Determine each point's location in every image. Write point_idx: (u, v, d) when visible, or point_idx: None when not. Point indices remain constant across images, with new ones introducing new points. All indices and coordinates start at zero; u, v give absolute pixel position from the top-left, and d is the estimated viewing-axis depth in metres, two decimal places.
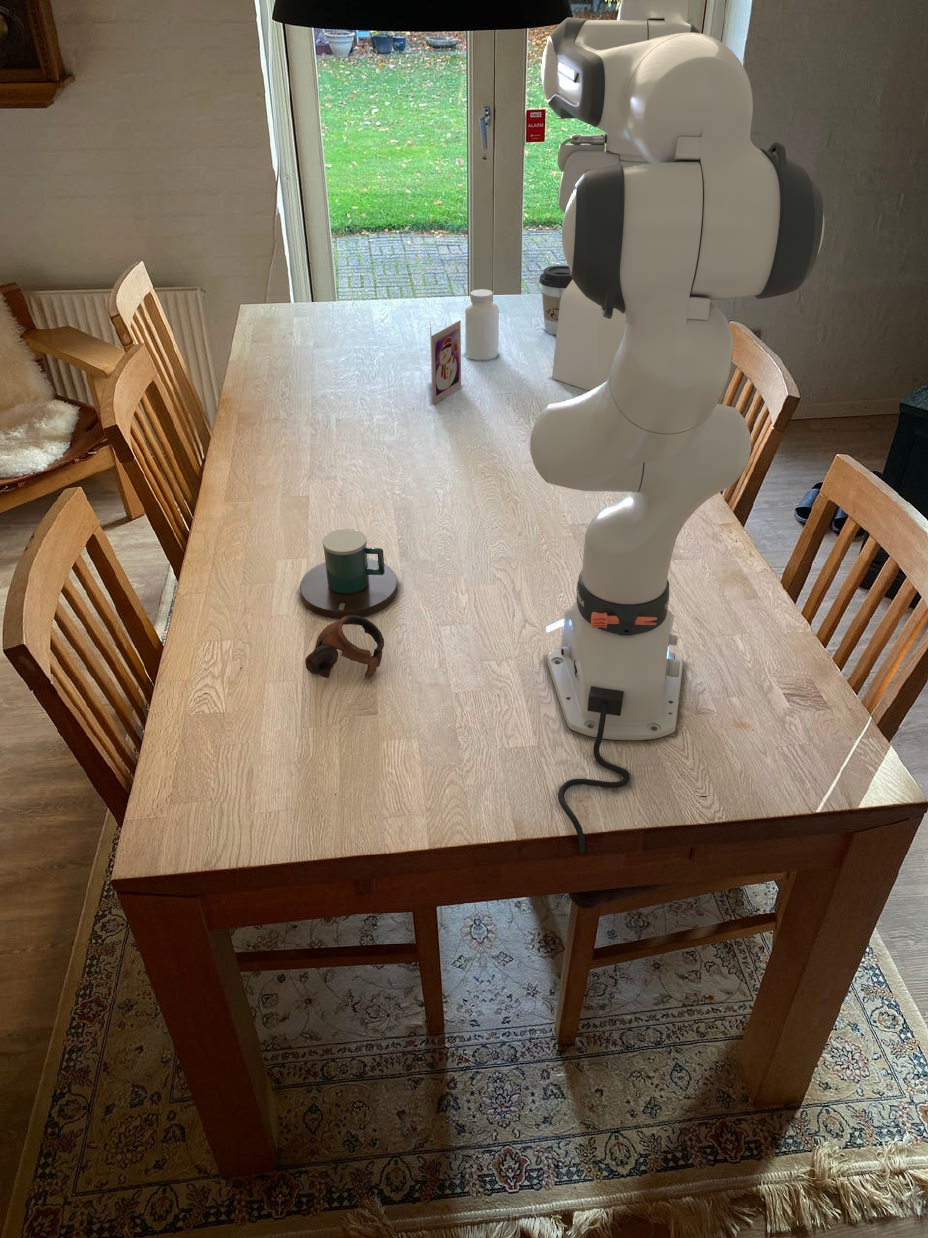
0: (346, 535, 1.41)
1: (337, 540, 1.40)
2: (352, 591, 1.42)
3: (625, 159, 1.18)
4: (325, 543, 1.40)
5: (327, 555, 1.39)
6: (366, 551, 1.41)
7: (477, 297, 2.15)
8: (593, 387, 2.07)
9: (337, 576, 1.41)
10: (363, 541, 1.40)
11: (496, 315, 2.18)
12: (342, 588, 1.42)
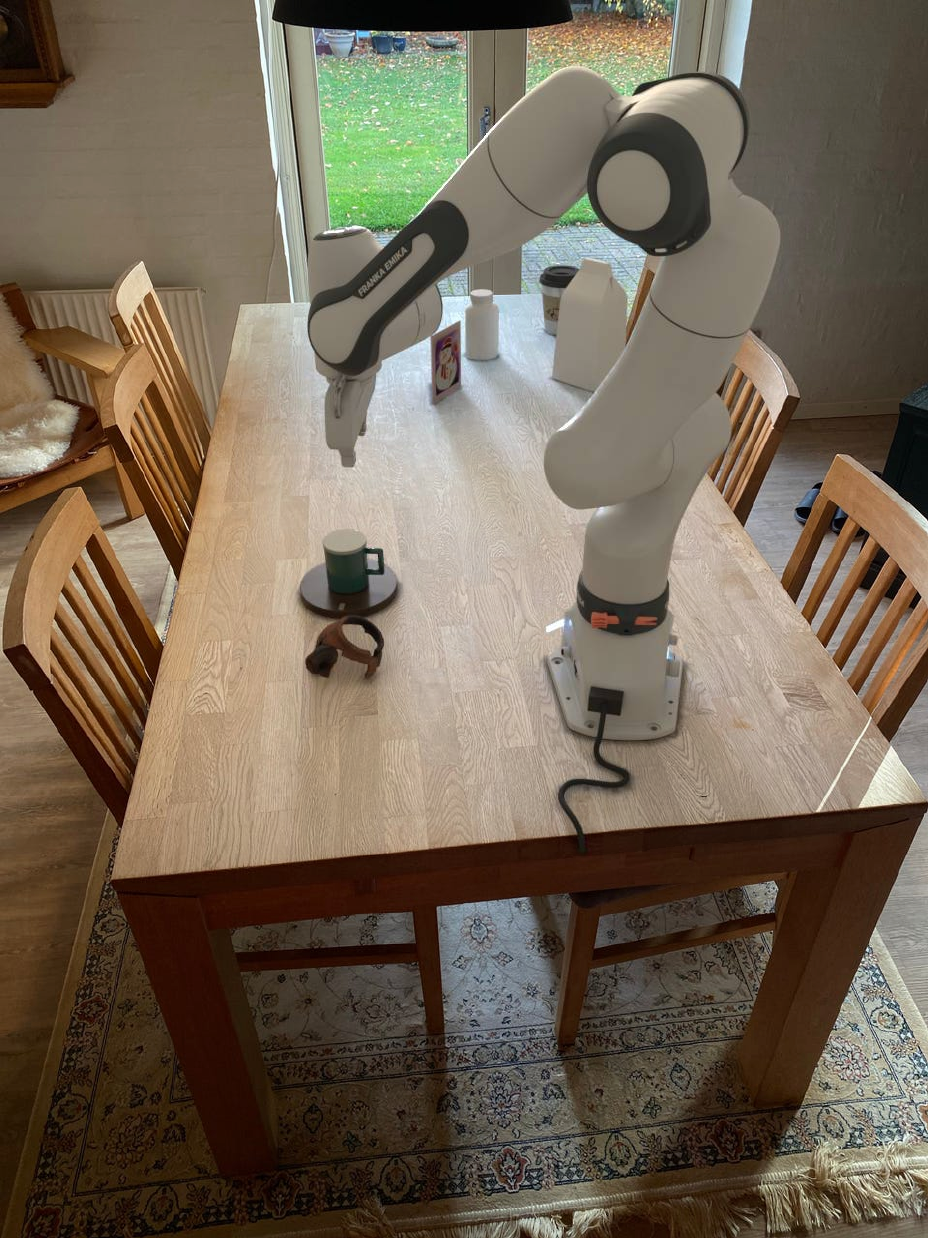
0: (346, 535, 1.41)
1: (337, 540, 1.40)
2: (352, 591, 1.42)
3: (365, 379, 1.24)
4: (325, 543, 1.40)
5: (327, 555, 1.39)
6: (366, 551, 1.41)
7: (477, 297, 2.15)
8: (593, 387, 2.07)
9: (337, 576, 1.41)
10: (363, 541, 1.40)
11: (496, 315, 2.18)
12: (342, 588, 1.42)
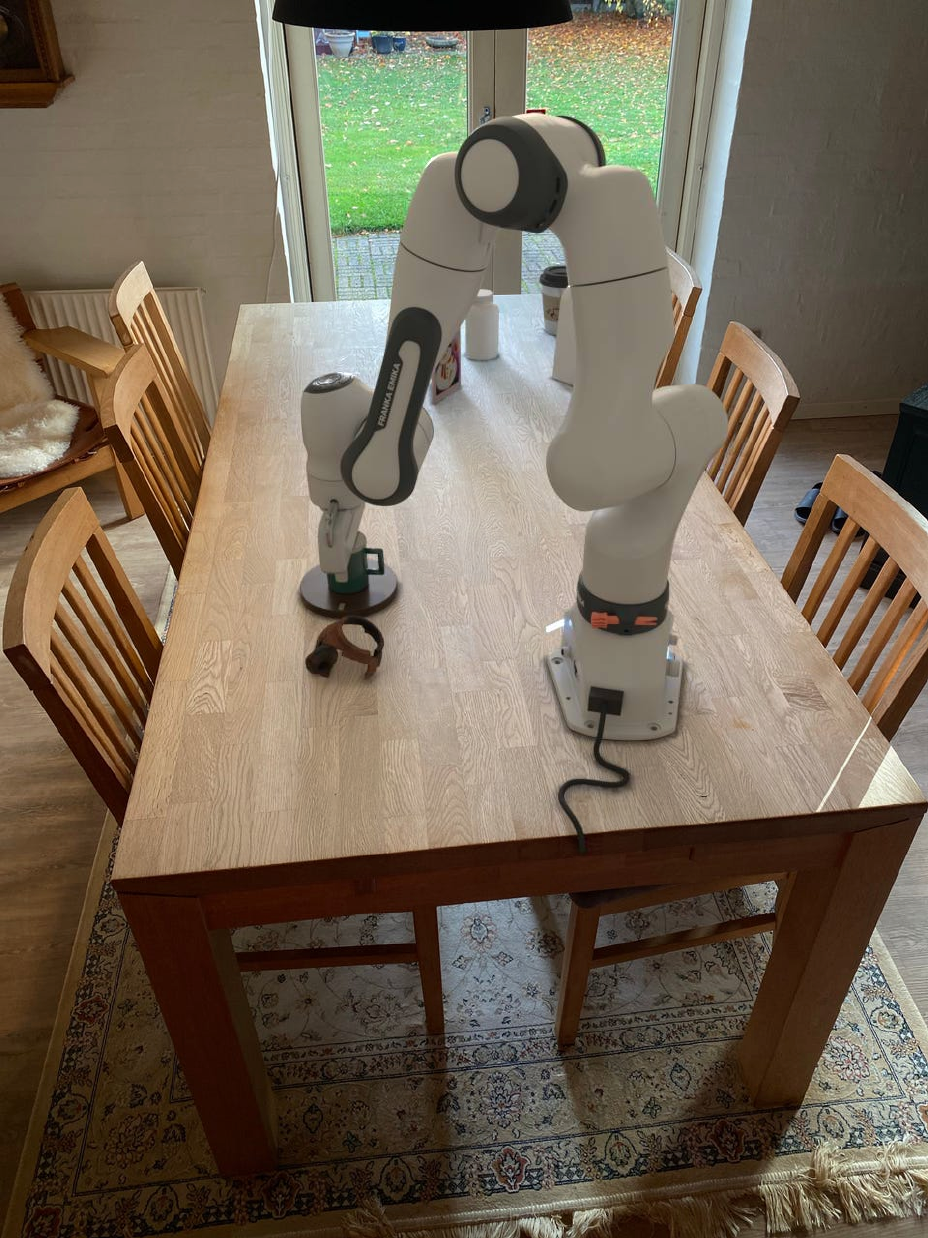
0: None
1: None
2: (352, 591, 1.42)
3: (355, 506, 1.35)
4: None
5: None
6: (366, 551, 1.41)
7: (477, 297, 2.15)
8: None
9: None
10: (363, 541, 1.40)
11: (496, 315, 2.18)
12: (342, 588, 1.42)
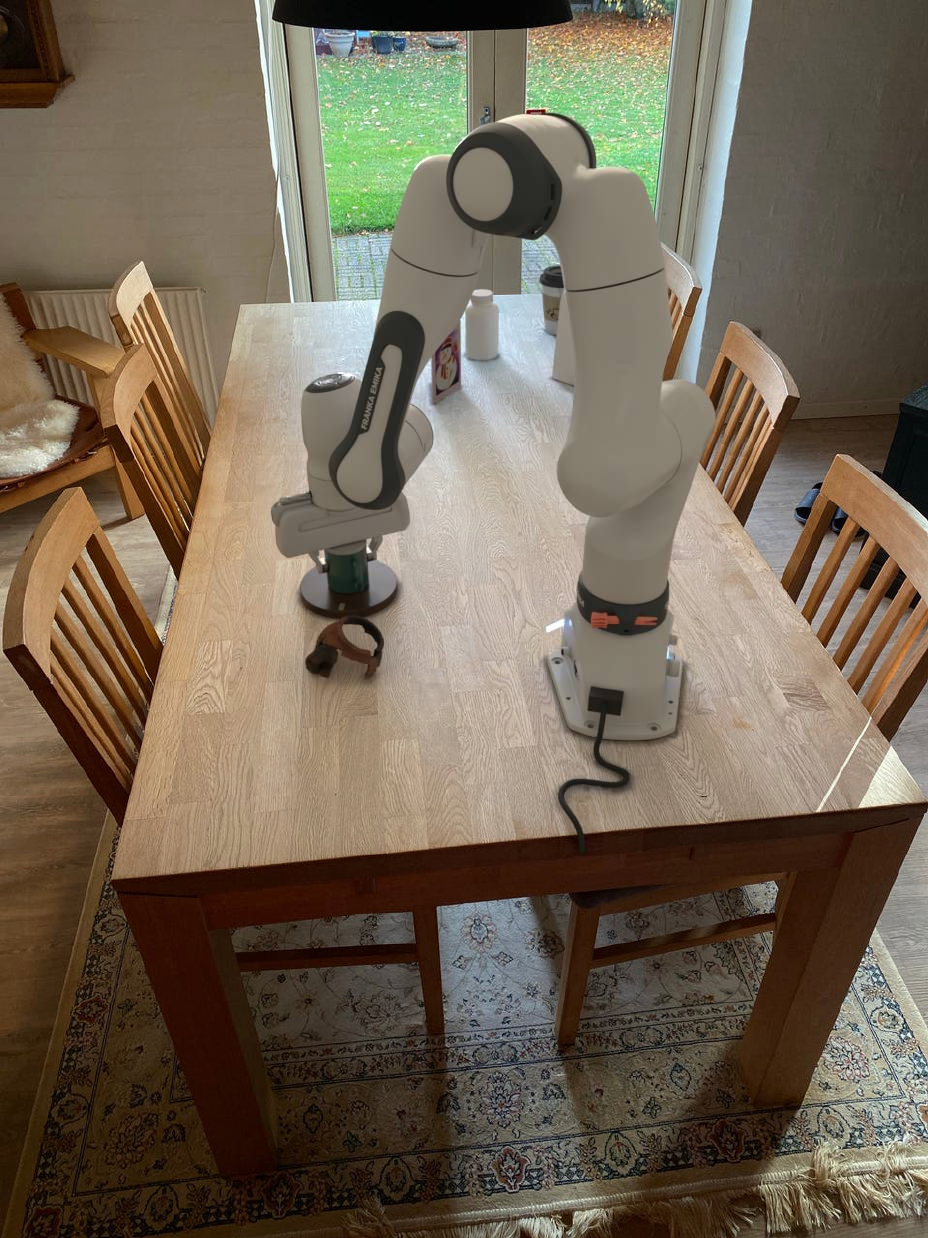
0: None
1: None
2: (332, 588, 1.43)
3: (333, 510, 1.34)
4: None
5: None
6: (350, 560, 1.39)
7: (477, 297, 2.15)
8: None
9: None
10: (350, 549, 1.38)
11: (496, 315, 2.18)
12: None
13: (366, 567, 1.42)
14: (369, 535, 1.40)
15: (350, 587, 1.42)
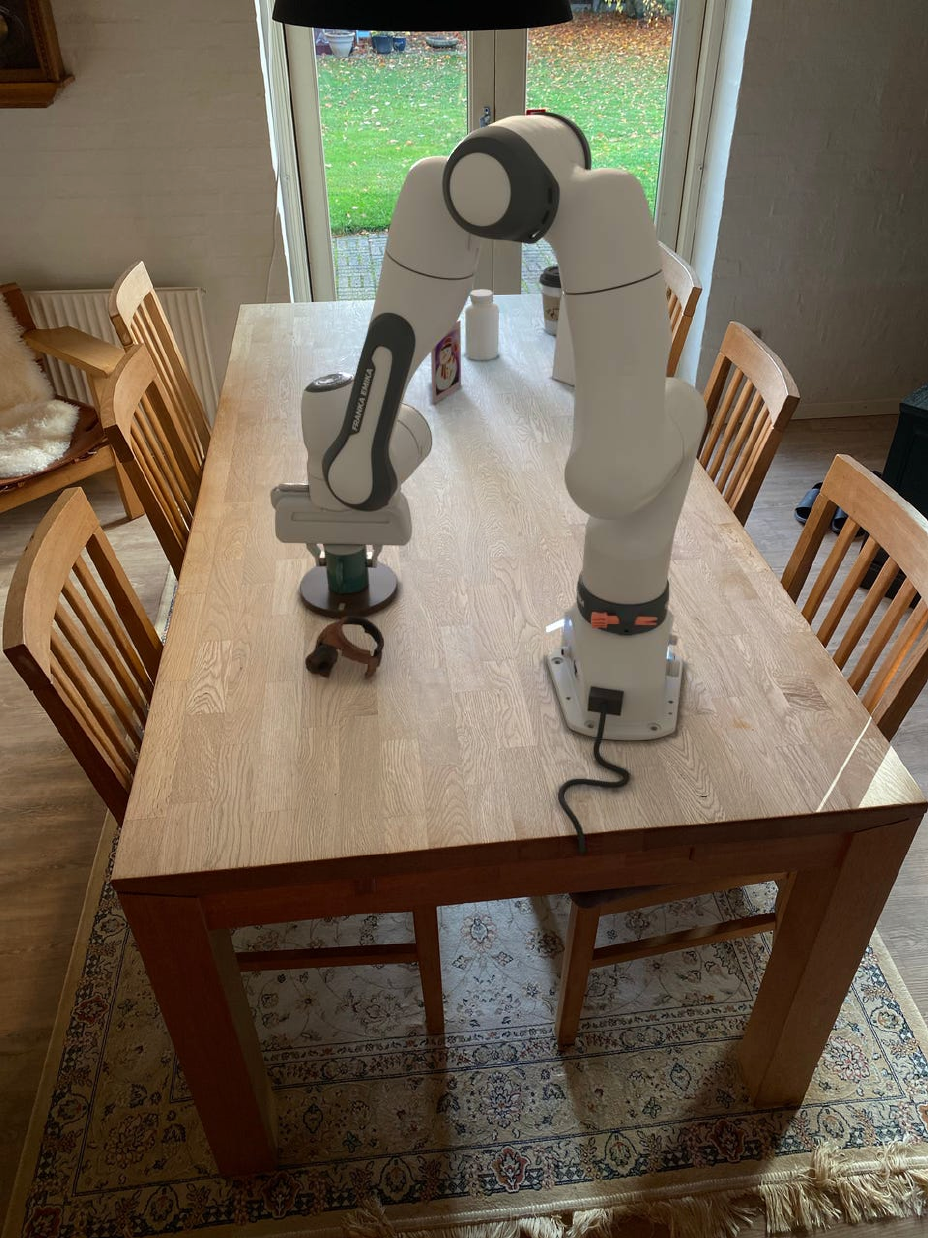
0: None
1: None
2: None
3: (324, 507, 1.35)
4: None
5: None
6: (338, 560, 1.39)
7: (477, 297, 2.15)
8: None
9: None
10: (339, 550, 1.38)
11: (496, 315, 2.18)
12: None
13: (359, 572, 1.41)
14: (364, 541, 1.38)
15: None
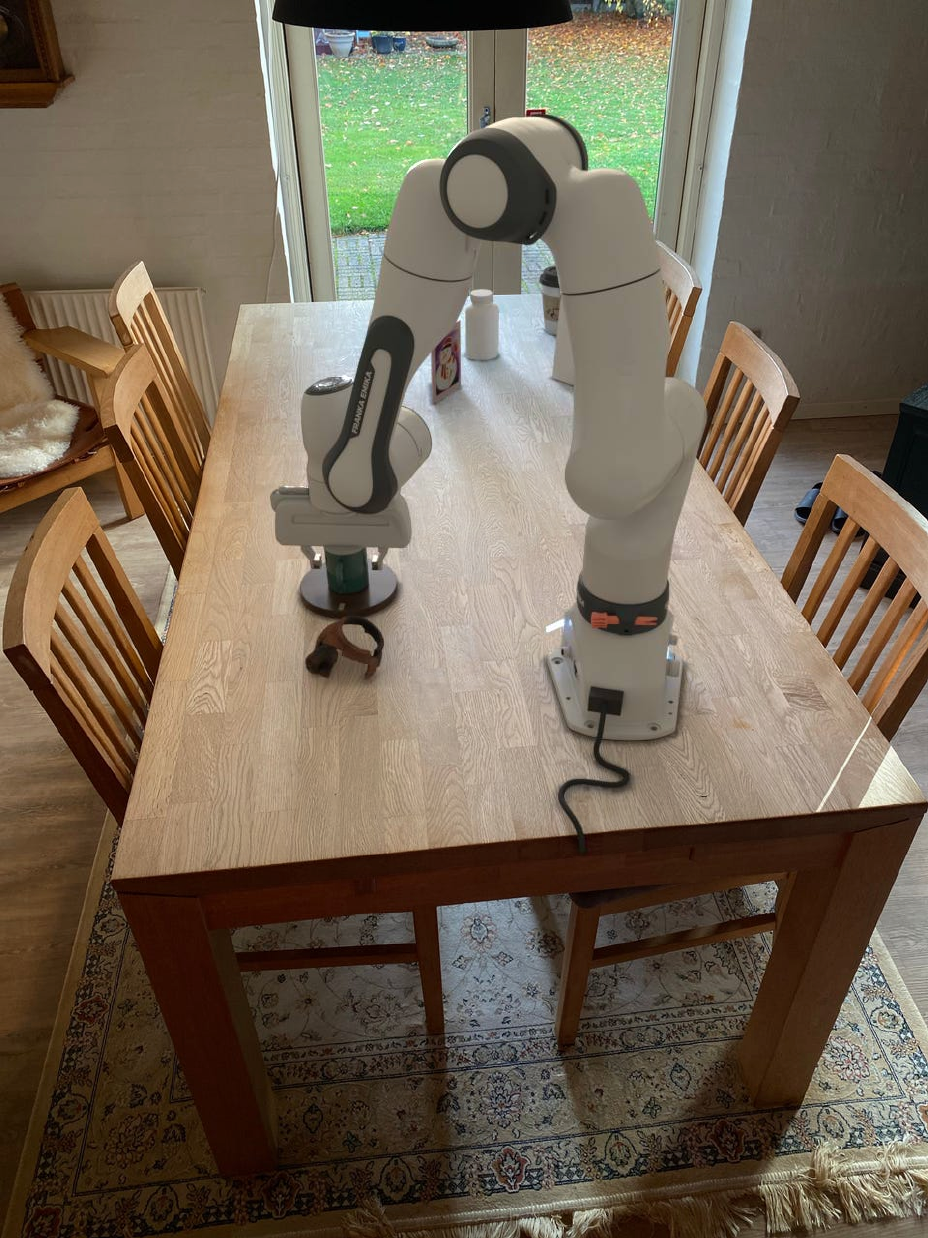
0: None
1: None
2: None
3: (324, 510, 1.35)
4: None
5: None
6: (338, 560, 1.39)
7: (477, 297, 2.15)
8: None
9: None
10: (339, 550, 1.38)
11: (496, 315, 2.18)
12: None
13: (359, 572, 1.41)
14: (364, 544, 1.38)
15: None
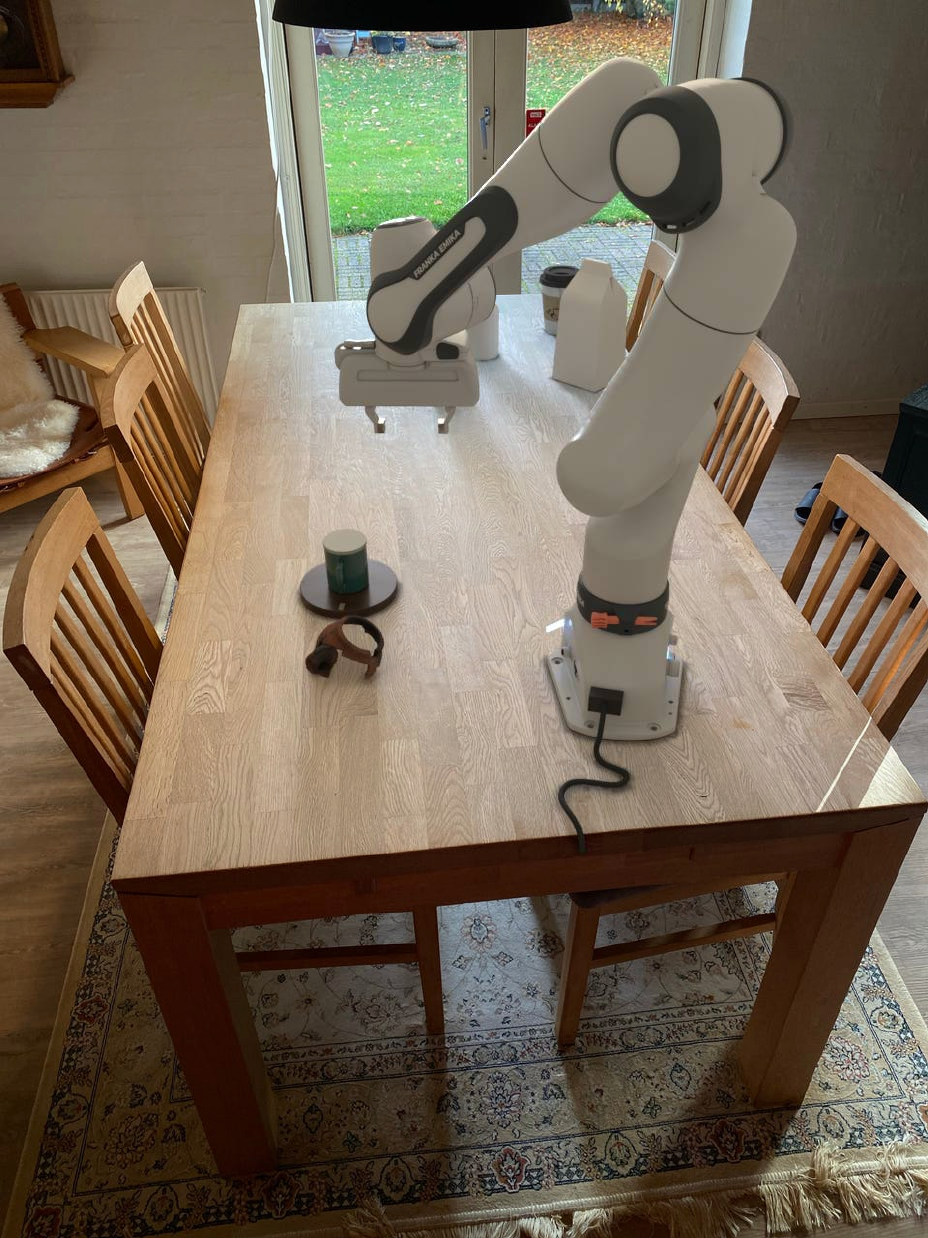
0: (353, 540, 1.40)
1: (344, 536, 1.41)
2: None
3: (392, 363, 1.30)
4: (340, 530, 1.43)
5: None
6: (338, 560, 1.39)
7: None
8: (593, 387, 2.07)
9: None
10: (339, 550, 1.38)
11: (496, 315, 2.18)
12: None
13: (359, 572, 1.41)
14: (432, 402, 1.34)
15: None
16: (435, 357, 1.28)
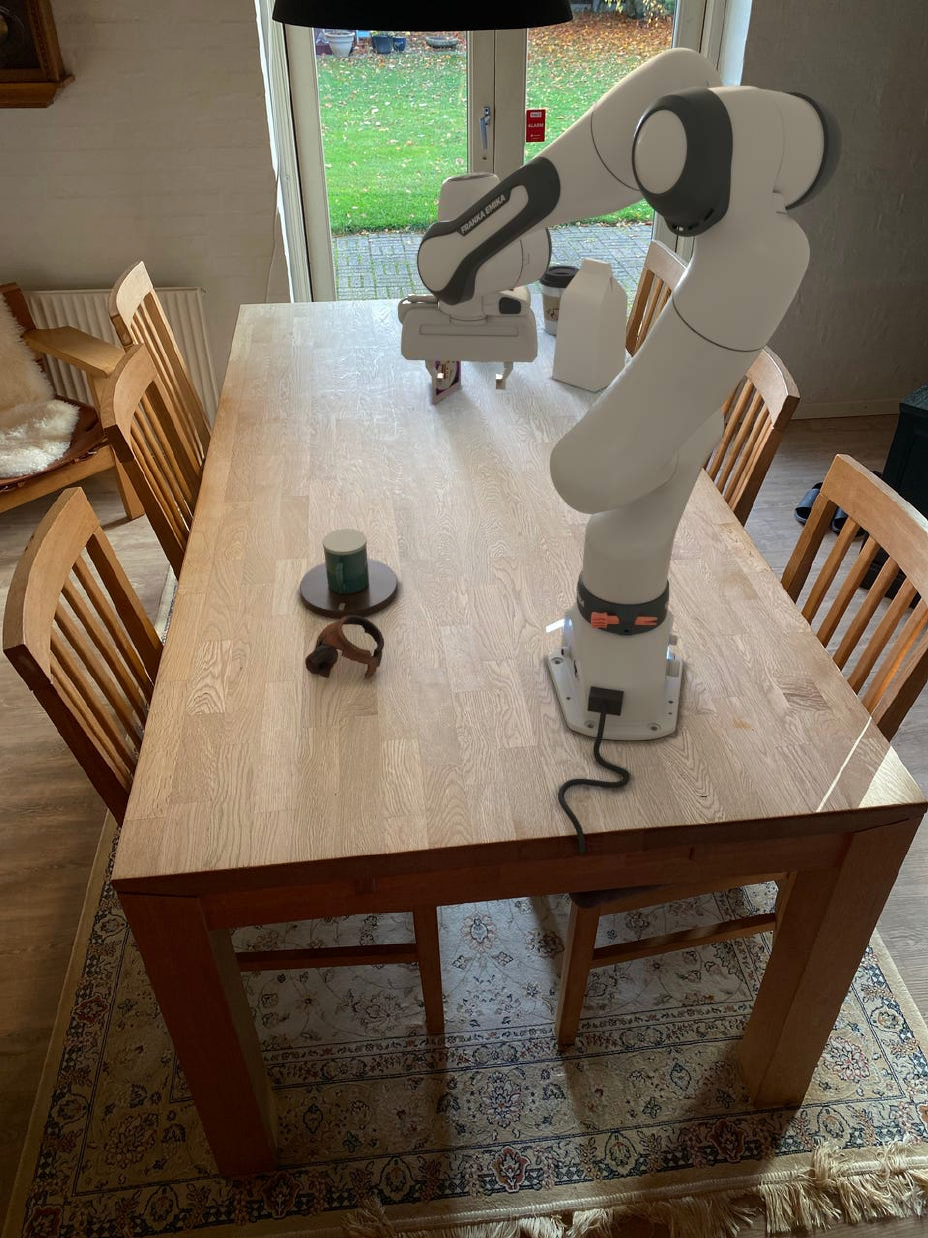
0: (353, 540, 1.40)
1: (344, 536, 1.41)
2: None
3: (454, 317, 1.33)
4: (340, 530, 1.43)
5: None
6: (338, 560, 1.39)
7: None
8: (593, 387, 2.07)
9: None
10: (339, 550, 1.38)
11: None
12: None
13: (359, 572, 1.41)
14: (491, 357, 1.37)
15: None
16: (497, 311, 1.31)
